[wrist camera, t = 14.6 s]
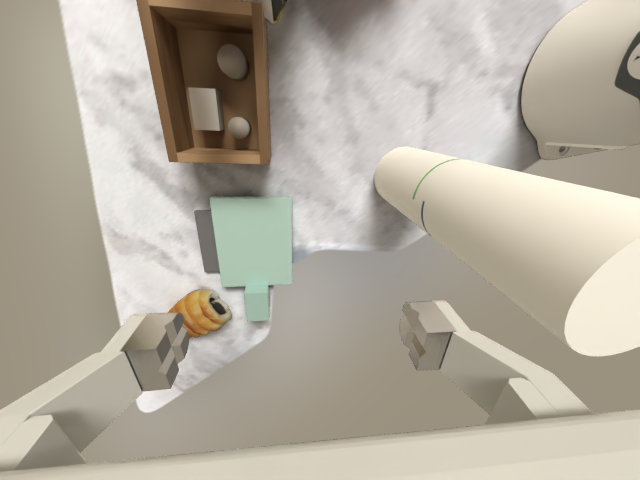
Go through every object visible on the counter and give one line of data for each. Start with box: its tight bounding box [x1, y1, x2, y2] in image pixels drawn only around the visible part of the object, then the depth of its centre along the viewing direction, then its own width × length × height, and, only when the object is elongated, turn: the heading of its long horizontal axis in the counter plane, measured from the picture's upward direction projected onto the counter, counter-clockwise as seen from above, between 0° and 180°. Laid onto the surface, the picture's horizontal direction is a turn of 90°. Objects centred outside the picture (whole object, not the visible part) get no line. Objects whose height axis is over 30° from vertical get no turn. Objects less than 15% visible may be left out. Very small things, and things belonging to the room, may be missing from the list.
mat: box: [194, 210, 220, 272], centre depth 34 cm, size 10×9×1 cm
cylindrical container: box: [374, 147, 640, 356], centre depth 22 cm, size 7×7×25 cm
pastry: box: [168, 290, 232, 338], centre depth 36 cm, size 9×7×4 cm
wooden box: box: [136, 0, 271, 164], centre depth 24 cm, size 9×12×6 cm
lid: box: [209, 196, 292, 322], centre depth 33 cm, size 10×17×3 cm, turn 178°
